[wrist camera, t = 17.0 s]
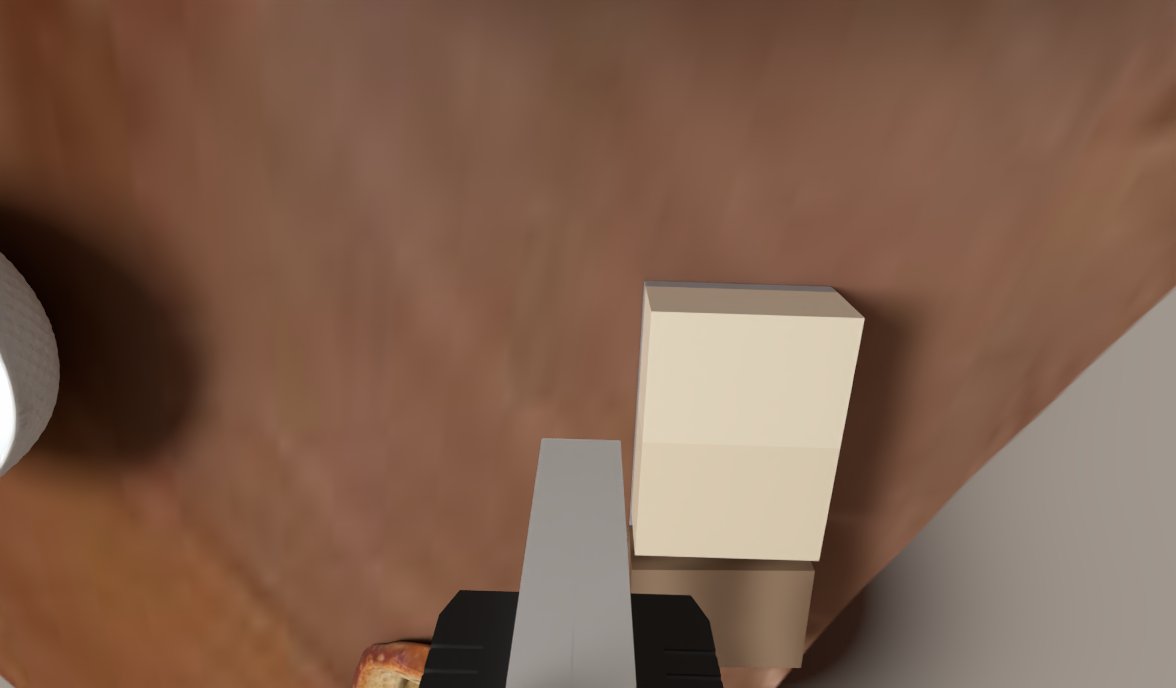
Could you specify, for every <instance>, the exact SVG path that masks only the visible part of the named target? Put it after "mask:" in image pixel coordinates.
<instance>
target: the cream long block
mask: <svg viewBox="0 0 1176 688" xmlns="http://www.w3.org/2000/svg"><path fill="white" fill-rule="evenodd" d="M864 320H865V318H864V317H863V316H862V315H861V314H860V313H859V312H858V311H857V310H856V309H855V308H853V307H852V306H851V305H850V304H849V303H848V302H847V301H846V300H845V299H844V298H843V297H842V296H841V295H840V294H839V293H838V292H837V291H836V290H834V289H833V288H832V287H829V286H798V285H766V284H734V283H703V282H671V281H644V295H643V311H642V327H641V343H640V359H639V375H638V391H637V408H636V424H635V440H634V456H633V472H632V488H631V504H630V520H629V525H633V538H634V550H635V555H643V556H675V557H707V558H739V559H770V560H802V561H819V559H820V553H821V548H822V543H823V537H824V532H825V527H826V521H827V516H828V511H829V505H830V500H831V495H832V489H833V484H834V479H835V474H836V468H837V463H838V458H839V452H840V447H841V442H842V436H843V431H844V426H845V420H846V415H847V410H848V405H849V399H850V394H851V389H852V383H853V378H854V373H855V367H856V362H857V357H858V351H859V346H860V341H861V336H862V330H863V325H864Z"/></svg>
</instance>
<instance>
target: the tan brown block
mask: <svg viewBox="0 0 1176 688" xmlns="http://www.w3.org/2000/svg"><path fill="white" fill-rule="evenodd" d="M628 565H629V581H630V593H636V594H668V595H691V596H692V597H693V599H694V600H695V601H696V603H697V604H698V606H699V607H700V608H701V610H702V611H703V612H704V614H705V615H706V616H707V618H708V619H709V621H710V625H711V630H712V635H713V639H714V644H715V649H716V656H717V659H718V664H719V667H769V668H801V663H802V656H803V649H804V642H805V635H806V629H807V622H808V615H809V608H810V601H811V595H812V588H813V581H814V574H815V570H814V567H813V565H812V563H811V561H802V560H770V559H739V558H707V557H675V556H643V555H635V550H634V538H633V525H629V532H628Z"/></svg>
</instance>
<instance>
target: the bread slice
mask: <svg viewBox="0 0 1176 688" xmlns="http://www.w3.org/2000/svg"><path fill="white" fill-rule="evenodd" d="M430 649H431V645H426V644H421V643H415V642H403V641H396V642H392V643H388V644H373V645H371V646H369V647H368V648H367V649H366V650H365V651H364V653H363V655H362V657H361V660H360V662H359V664H358V666H357V669H356V672H355V675H354V679H353V688H419V684H420V681H421V677H422V675H423V674H424V667H425V663H426V660H427V656H428V653H429V650H430Z"/></svg>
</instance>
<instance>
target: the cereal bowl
mask: <svg viewBox="0 0 1176 688" xmlns="http://www.w3.org/2000/svg"><path fill="white" fill-rule="evenodd" d="M59 368H60V364H59V358H58V349H57V344H56V339H55V334H54V333H53V331H52V325H51V324H50V321H49V319H48V317H47V316H46V314H45V310H44V308H43V307H42V305H41V302H40V301H39V300H38V299H37V297H36V295H35V292H34V291H33V290H32V289H31V287H30V285H29V284H28V283H27V282H26V280H25V278H24V277H23V276H22V275H21V274H20V273H19V272H18V270H17V269H16V268H15V267H14V265H13V264H12V263H11V262H10V261H9V260H7V259H6V257H5V256H4V255H3V254H2V253H1V252H0V477H1V476H3V475H4V474H5V473H6V472H7V471H8V470H9V469H10V468H11V467H12V466H14V465H15V464H17V463H18V462H19V461H20V459H21V458H22V457H23V456H24V455H25V454H26V453H27V452H28V451H29V450H30V449H31V447H32V446H33V444H34V443H35V442H36V441H37V440H38V439H39V437H40V435H41V434H42V432H43V431H44V430H45V428H46V426H47V424H48V421H49V420H50V418H51V416H52V413H53V409H54V407H55V405H56V400H57V394H58V390H59V379H60V373H59Z"/></svg>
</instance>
